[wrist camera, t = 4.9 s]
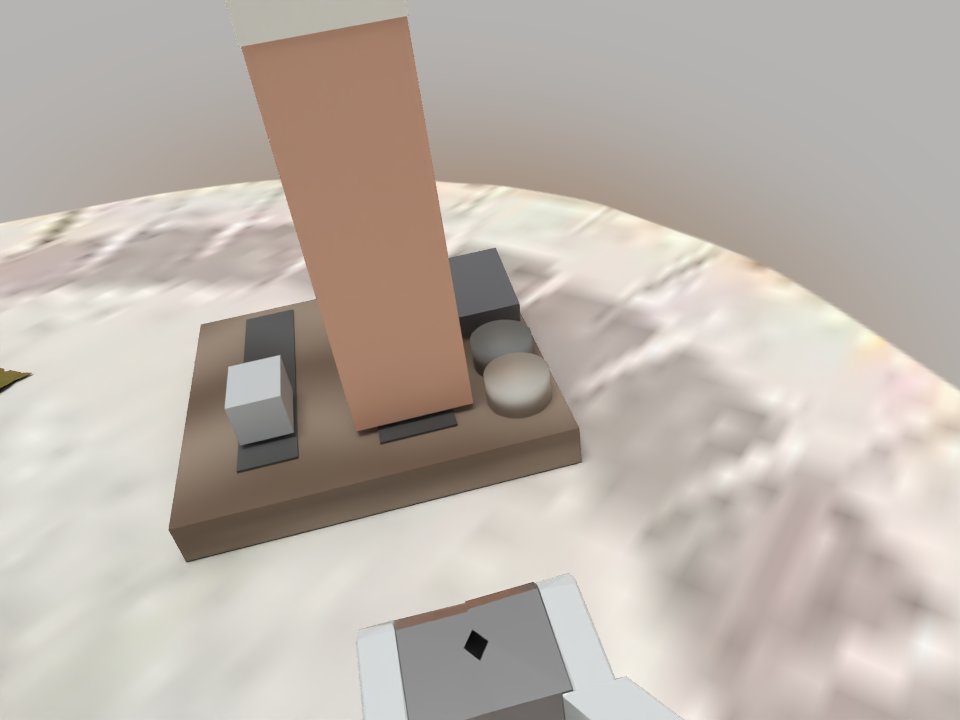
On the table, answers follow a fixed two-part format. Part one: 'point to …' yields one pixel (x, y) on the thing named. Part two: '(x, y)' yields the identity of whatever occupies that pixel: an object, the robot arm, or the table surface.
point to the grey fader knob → (259, 400)
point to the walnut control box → (353, 435)
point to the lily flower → (10, 376)
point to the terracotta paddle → (361, 196)
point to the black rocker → (482, 290)
